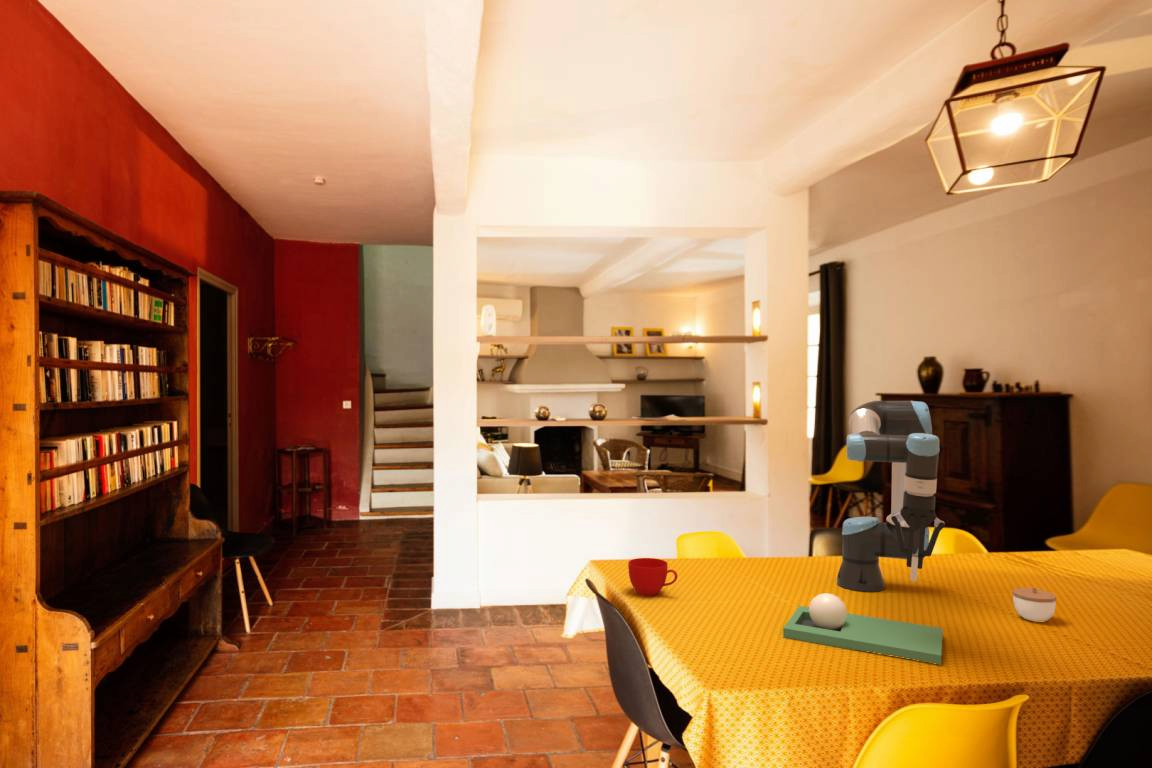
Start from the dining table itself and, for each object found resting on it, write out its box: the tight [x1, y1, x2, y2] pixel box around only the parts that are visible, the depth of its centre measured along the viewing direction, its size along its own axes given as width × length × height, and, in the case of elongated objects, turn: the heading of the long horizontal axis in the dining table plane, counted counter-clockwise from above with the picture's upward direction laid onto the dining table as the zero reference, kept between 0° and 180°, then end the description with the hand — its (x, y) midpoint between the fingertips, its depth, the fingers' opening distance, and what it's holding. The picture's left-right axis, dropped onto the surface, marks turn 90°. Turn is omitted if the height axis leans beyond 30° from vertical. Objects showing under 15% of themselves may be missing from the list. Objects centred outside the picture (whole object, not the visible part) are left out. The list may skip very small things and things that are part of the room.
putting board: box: [782, 605, 944, 665], centre depth 187 cm, size 38×22×2 cm, turn 61°
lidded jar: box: [1012, 586, 1057, 622], centre depth 202 cm, size 11×11×9 cm
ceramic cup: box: [627, 557, 678, 597], centre depth 225 cm, size 13×17×10 cm
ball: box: [808, 592, 848, 630], centre depth 191 cm, size 10×10×10 cm
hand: (913, 579), depth 182 cm, fingers closed
